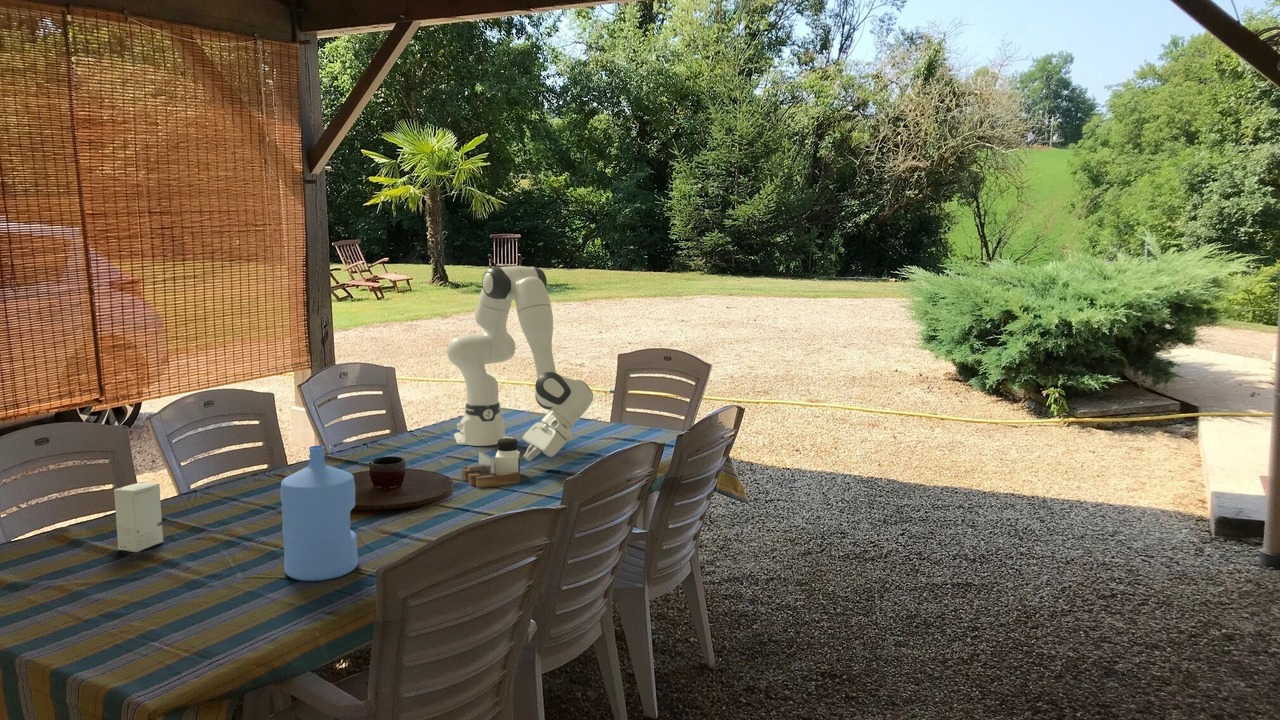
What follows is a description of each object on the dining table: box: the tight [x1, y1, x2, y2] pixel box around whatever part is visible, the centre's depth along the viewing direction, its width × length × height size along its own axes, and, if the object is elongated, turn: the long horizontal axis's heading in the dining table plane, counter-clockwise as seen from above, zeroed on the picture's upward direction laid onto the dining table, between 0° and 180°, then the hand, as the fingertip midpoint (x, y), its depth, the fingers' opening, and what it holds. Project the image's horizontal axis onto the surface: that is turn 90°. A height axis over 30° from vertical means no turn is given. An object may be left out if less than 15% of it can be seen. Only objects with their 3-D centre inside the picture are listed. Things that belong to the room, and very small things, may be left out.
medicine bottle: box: [494, 436, 521, 477], centre depth 281 cm, size 7×7×12 cm
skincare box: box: [113, 481, 164, 553], centre depth 217 cm, size 8×6×15 cm
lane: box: [461, 462, 520, 489], centre depth 278 cm, size 15×14×3 cm
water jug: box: [280, 445, 359, 582], centre depth 203 cm, size 16×16×28 cm
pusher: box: [468, 451, 495, 476], centre depth 276 cm, size 11×6×7 cm, turn 28°
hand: (525, 459), depth 283 cm, fingers closed
